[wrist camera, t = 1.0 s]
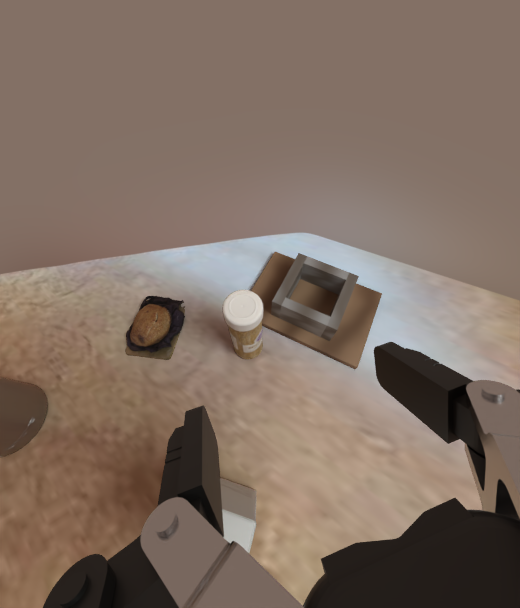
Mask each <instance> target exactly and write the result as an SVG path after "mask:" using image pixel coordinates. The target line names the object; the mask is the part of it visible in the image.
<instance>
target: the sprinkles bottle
mask: <svg viewBox="0 0 520 608" xmlns="http://www.w3.org/2000/svg"><path fill="white" fill-rule="evenodd" d="M223 315H224V319H225V321H226V323H227V324H228V328H229V332H230V335H231V339H232V342H233V345H234V349H235V352H236V353H237V354H238V356H240V357H241V358H243V359H252V358H255V357H256V356H258V355H259V354H260V352H261V350H262V347H263V343H262V318H263V303H262V300H261V299H260V297H259V296H258V295H257V294H255V293H254V292H252V291H249V290H238V291H235V292H233V293H231V294H230V295H229V296H228V297H227V298H226V299H225V301H224V303H223Z"/></svg>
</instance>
